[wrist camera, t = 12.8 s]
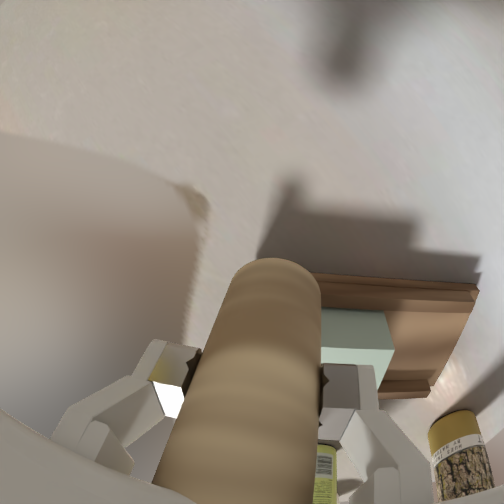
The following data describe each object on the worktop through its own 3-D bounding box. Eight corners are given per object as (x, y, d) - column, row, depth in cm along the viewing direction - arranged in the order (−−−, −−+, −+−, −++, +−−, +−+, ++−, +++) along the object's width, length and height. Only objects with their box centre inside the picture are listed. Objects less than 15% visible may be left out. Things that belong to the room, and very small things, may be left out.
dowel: (227, 253, 12) (115, 498, 4) (326, 262, 11) (322, 540, 3) (230, 326, 13) (161, 530, 5) (314, 335, 13) (295, 554, 5)
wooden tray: (251, 267, 23) (233, 325, 17) (474, 284, 20) (509, 334, 15) (249, 371, 28) (237, 428, 22) (431, 378, 25) (445, 430, 20)
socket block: (265, 293, 22) (255, 341, 18) (380, 302, 21) (394, 349, 17) (261, 372, 26) (253, 418, 22) (356, 378, 25) (360, 424, 20)
